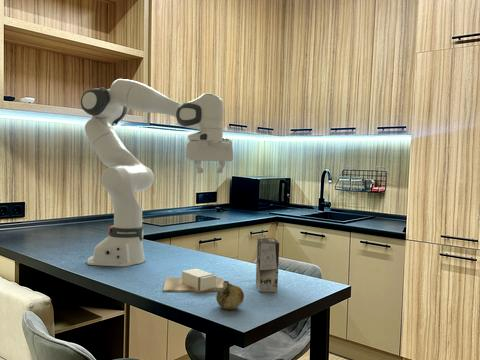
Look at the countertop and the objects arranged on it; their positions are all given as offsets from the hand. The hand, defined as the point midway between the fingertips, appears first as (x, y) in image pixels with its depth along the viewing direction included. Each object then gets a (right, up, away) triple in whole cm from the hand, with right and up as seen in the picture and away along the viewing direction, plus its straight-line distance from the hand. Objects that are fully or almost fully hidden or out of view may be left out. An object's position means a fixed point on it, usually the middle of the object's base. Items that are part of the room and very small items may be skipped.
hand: (210, 173), depth 164 cm
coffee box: (+20, -39, -20) cm, 48 cm away
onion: (+8, -40, -40) cm, 57 cm away
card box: (-6, -35, -17) cm, 40 cm away
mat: (-4, -38, -19) cm, 43 cm away
